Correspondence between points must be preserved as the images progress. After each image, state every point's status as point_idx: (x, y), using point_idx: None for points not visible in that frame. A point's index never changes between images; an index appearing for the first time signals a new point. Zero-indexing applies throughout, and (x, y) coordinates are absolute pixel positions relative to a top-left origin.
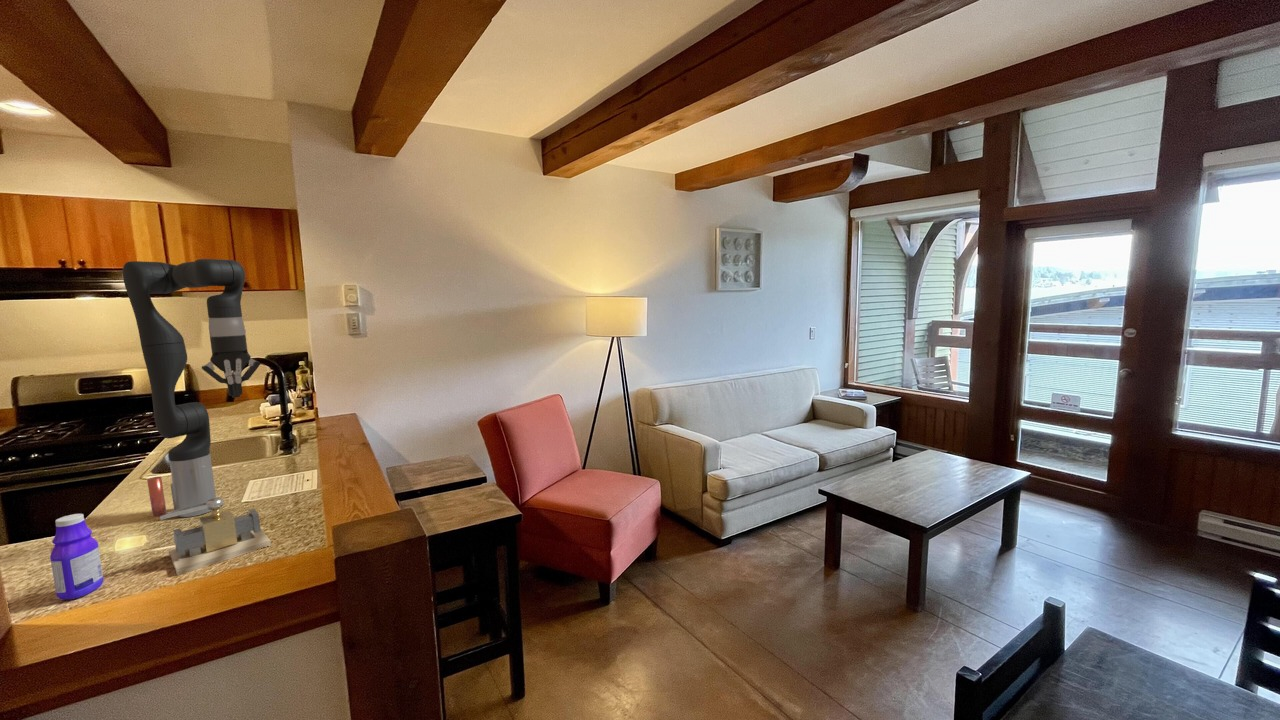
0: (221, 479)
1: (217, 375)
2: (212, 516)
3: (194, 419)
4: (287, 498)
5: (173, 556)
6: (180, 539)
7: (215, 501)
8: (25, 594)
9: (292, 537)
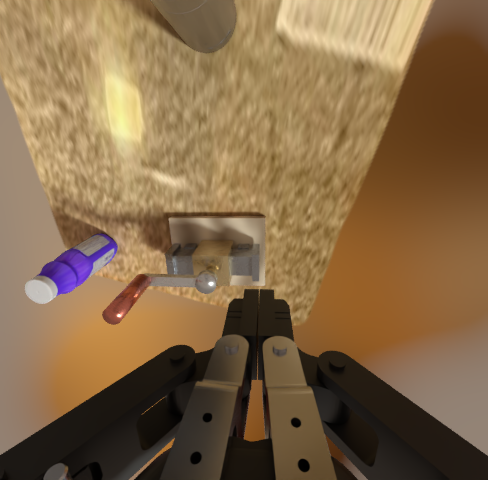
0: None
1: (145, 455)
2: None
3: None
4: (340, 89)
5: (173, 243)
6: None
7: (206, 292)
8: (54, 204)
9: (289, 277)
